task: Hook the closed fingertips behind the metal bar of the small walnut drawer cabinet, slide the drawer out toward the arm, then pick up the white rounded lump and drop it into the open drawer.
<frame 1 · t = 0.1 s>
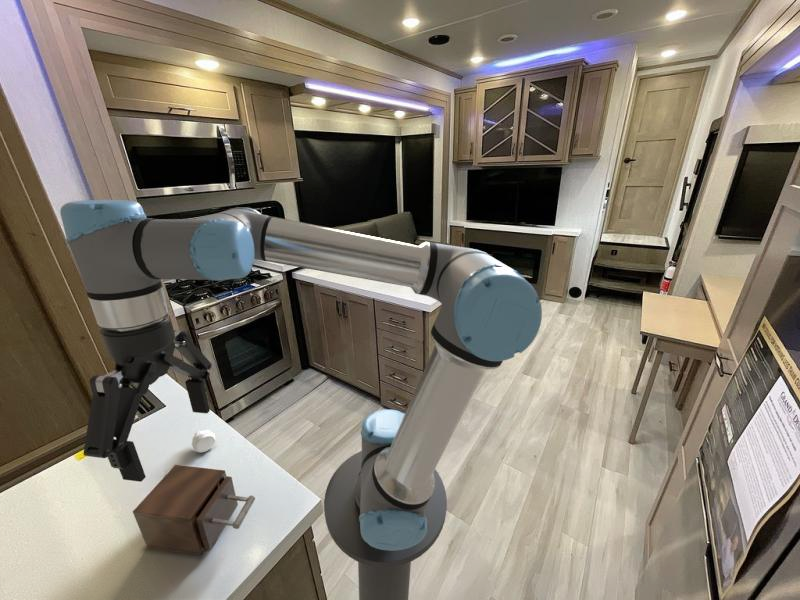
hand: (172, 440, 50), 31 cm above the worktop, tool pointing down, fingers open, 13 cm apart
cabinet: (192, 524, 68), on the worktop
drawer: (210, 510, 66), point 5 cm above the worktop, slide at 0.5 cm
white rounded lump: (203, 446, 88), on the worktop
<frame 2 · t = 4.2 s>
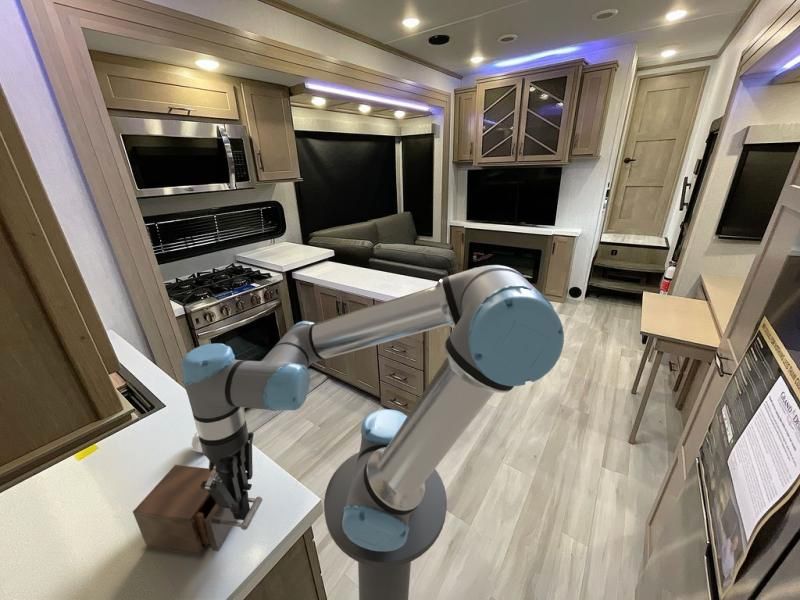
hand: (242, 516, 65), 5 cm above the worktop, tool pointing down, fingers closed
drawer: (218, 511, 65), point 5 cm above the worktop, slide at 2.2 cm, touching gripper
everything else where it was.
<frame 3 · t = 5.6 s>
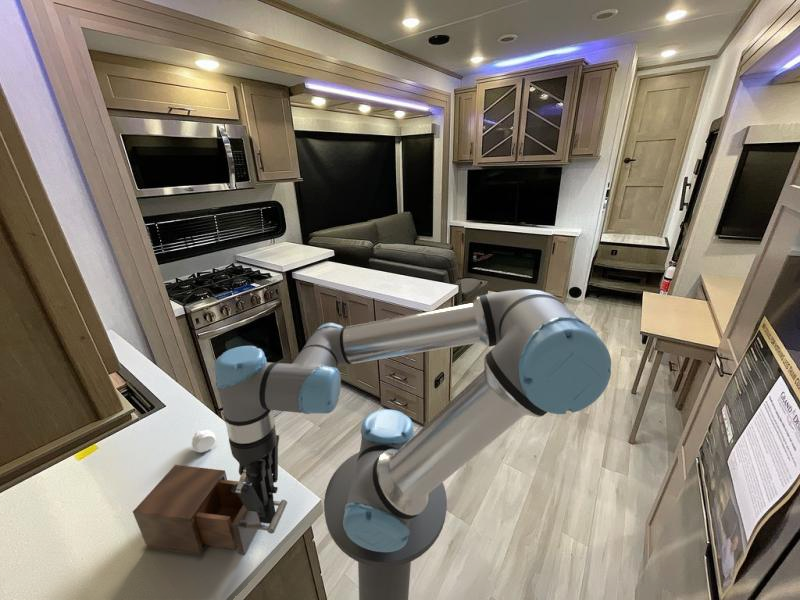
hand: (268, 519, 65), 5 cm above the worktop, tool pointing down, fingers closed
drawer: (243, 514, 65), point 5 cm above the worktop, slide at 7.6 cm
everything else where it was.
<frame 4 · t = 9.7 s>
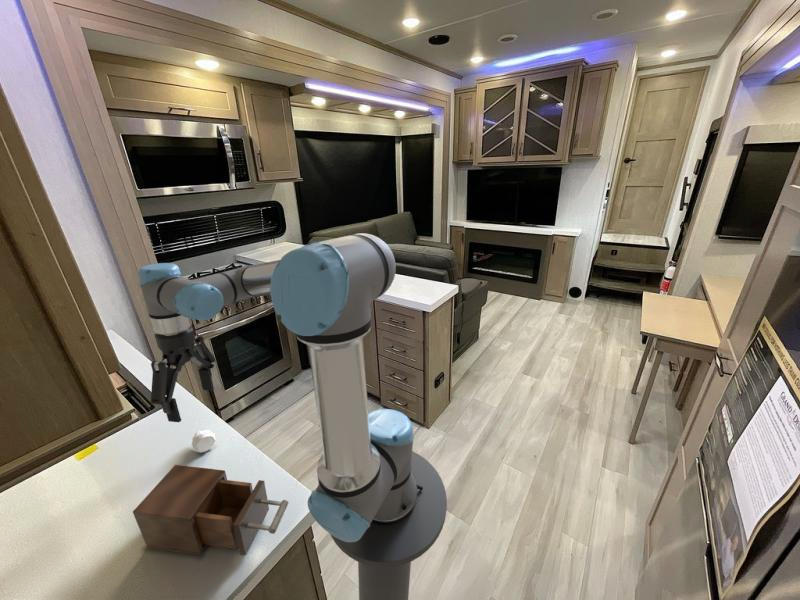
hand: (192, 404, 82), 14 cm above the worktop, tool pointing down, fingers open, 11 cm apart
nothing on the worktop moved.
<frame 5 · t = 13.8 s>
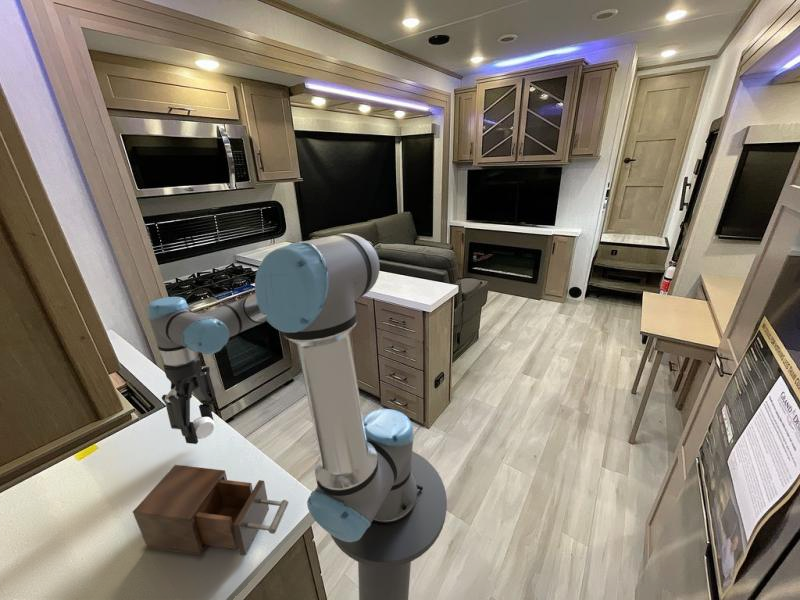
hand: (201, 433, 86), 5 cm above the worktop, tool pointing down, fingers closed on white rounded lump, 6 cm apart
white rounded lump: (202, 433, 86), point 4 cm above the worktop, touching gripper
everything else where it was.
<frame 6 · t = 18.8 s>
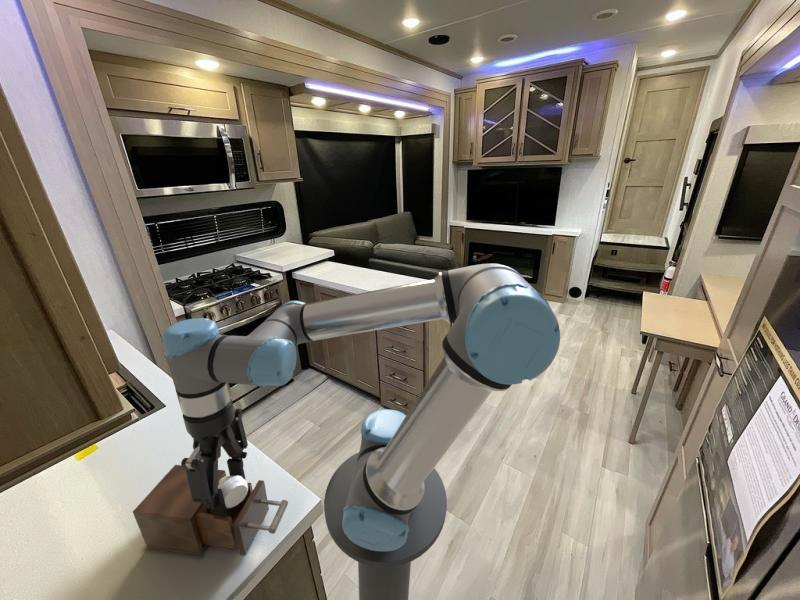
hand: (229, 497, 63), 10 cm above the worktop, tool pointing down, fingers closed on white rounded lump, 6 cm apart
white rounded lump: (231, 497, 64), point 9 cm above the worktop, touching gripper
everything else where it was.
when the fingers open (11 cm above the worktop, at t = 22.7 s): white rounded lump drops 8 cm, resting on drawer.
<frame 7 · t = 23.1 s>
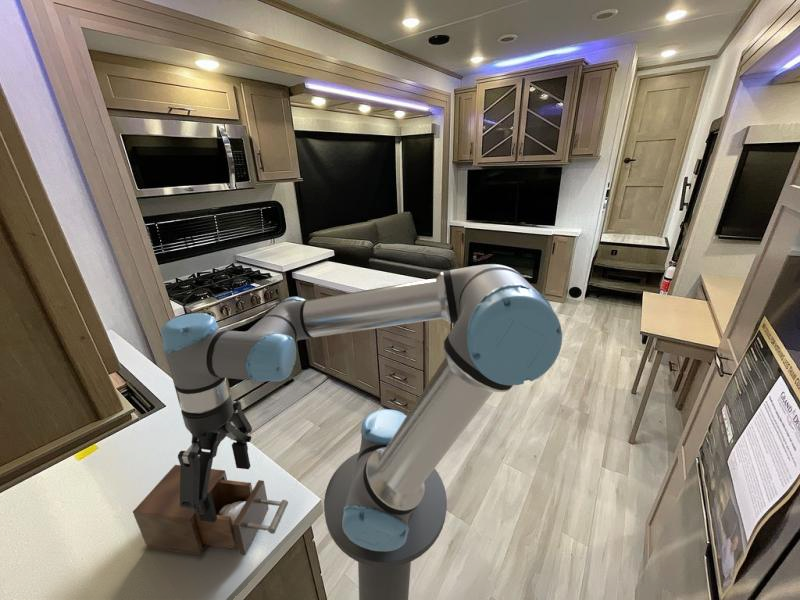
hand: (227, 491, 63), 12 cm above the worktop, tool pointing down, fingers open, 10 cm apart
drawer: (244, 515, 65), point 5 cm above the worktop, slide at 7.8 cm, touching white rounded lump
white rounded lump: (234, 523, 67), point 2 cm above the worktop, touching drawer
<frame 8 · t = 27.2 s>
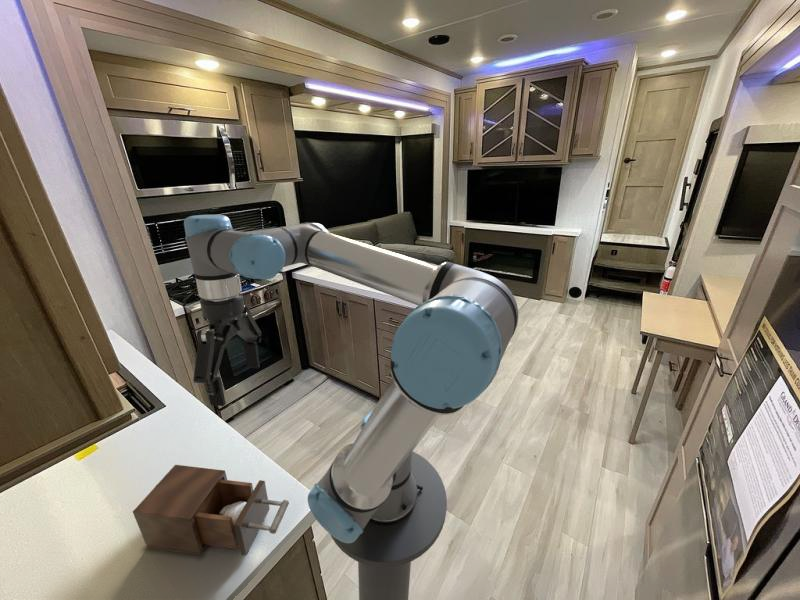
hand: (237, 384, 71), 27 cm above the worktop, tool pointing down, fingers open, 13 cm apart
nothing on the worktop moved.
at the end: drawer slide at 8.0 cm; white rounded lump inside the target area in the drawer (0.3 cm from its centre), point 1.8 cm above the cabinet's base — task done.
